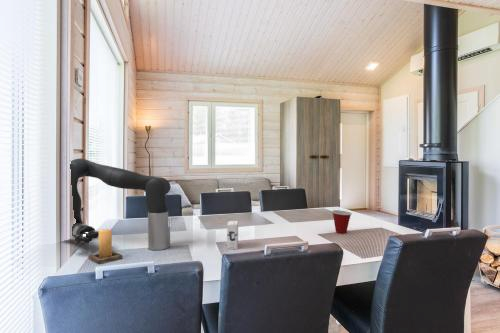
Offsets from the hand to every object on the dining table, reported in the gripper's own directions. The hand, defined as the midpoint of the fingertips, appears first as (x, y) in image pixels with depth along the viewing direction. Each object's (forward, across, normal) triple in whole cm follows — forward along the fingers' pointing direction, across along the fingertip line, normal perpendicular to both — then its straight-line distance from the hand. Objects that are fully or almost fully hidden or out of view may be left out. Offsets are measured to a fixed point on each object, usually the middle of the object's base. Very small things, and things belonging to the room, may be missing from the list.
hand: (98, 239), depth 141 cm
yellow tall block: (+7, 0, +7) cm, 10 cm away
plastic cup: (+60, +110, +8) cm, 126 cm away
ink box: (+34, +49, +8) cm, 60 cm away
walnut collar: (+7, 0, +7) cm, 10 cm away
